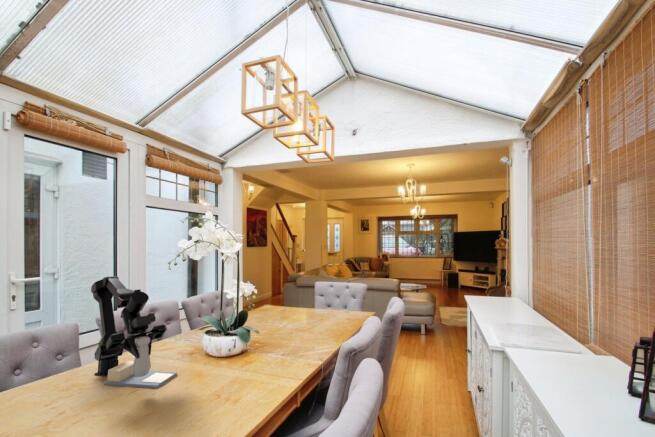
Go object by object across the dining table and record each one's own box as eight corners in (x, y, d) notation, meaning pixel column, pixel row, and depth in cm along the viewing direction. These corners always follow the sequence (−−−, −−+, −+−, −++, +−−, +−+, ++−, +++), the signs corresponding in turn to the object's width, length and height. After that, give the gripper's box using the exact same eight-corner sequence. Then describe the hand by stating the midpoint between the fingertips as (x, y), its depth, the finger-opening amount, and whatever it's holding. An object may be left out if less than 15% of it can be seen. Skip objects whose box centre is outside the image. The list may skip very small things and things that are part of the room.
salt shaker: (142, 378, 107) (144, 340, 108) (127, 377, 108) (129, 339, 109) (154, 371, 113) (156, 335, 114) (139, 370, 114) (142, 334, 115)
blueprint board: (104, 384, 117) (105, 370, 117) (128, 371, 129) (129, 359, 129) (156, 388, 114) (157, 374, 114) (176, 375, 126) (177, 362, 126)
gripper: (111, 311, 107) (122, 350, 100) (165, 303, 122) (178, 337, 115) (101, 330, 111) (111, 369, 104) (155, 320, 126) (167, 354, 119)
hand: (144, 356), depth 110 cm, fingers closed on salt shaker, 3 cm apart
